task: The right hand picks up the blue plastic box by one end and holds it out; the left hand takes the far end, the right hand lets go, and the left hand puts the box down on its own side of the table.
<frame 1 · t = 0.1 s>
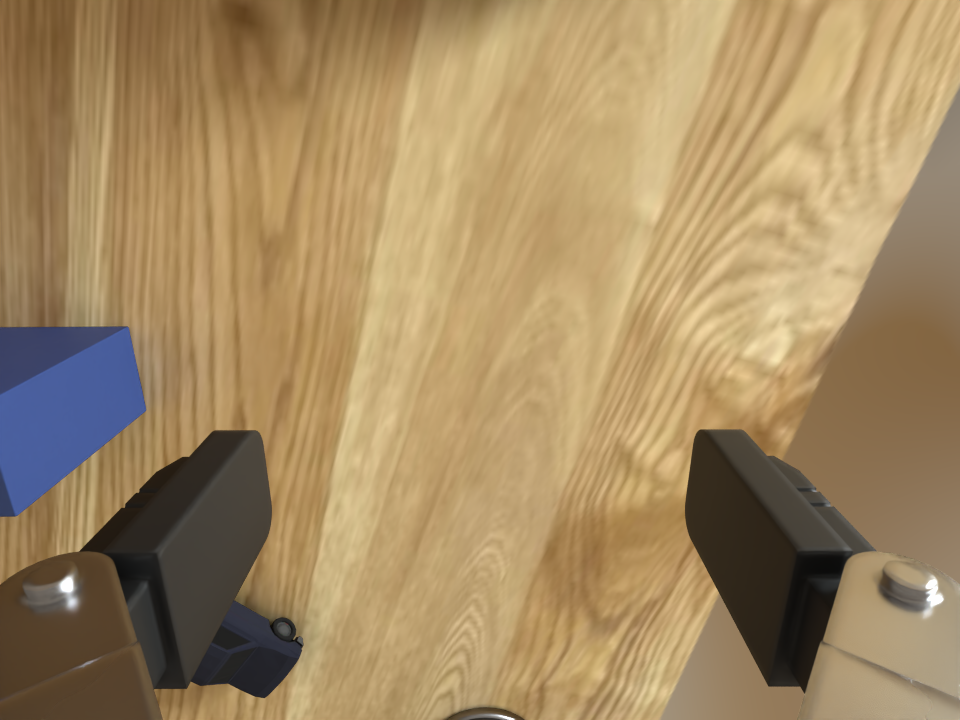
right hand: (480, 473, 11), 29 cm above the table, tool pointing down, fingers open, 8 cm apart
toy car: (216, 607, 49), on the table
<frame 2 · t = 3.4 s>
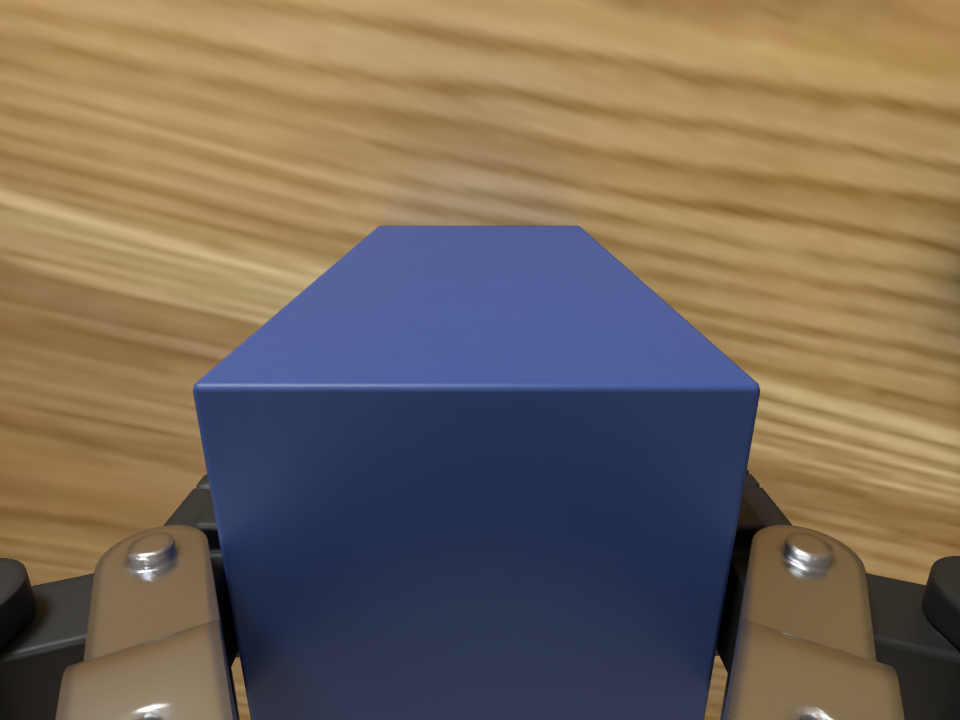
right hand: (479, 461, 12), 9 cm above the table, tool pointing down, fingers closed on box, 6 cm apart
box: (479, 585, 23), on the table, touching right hand
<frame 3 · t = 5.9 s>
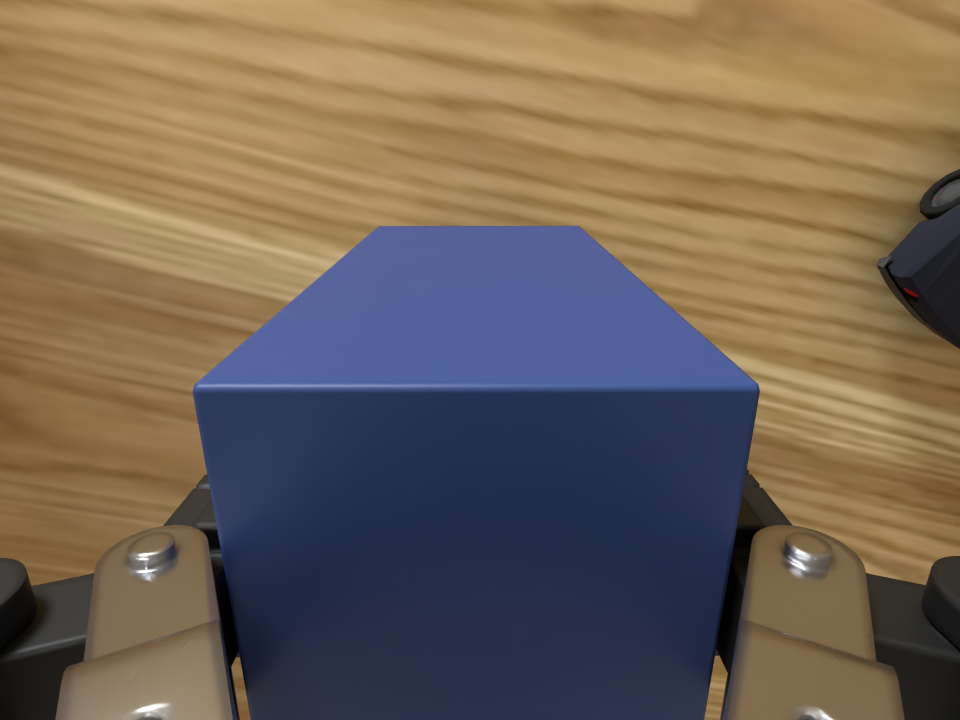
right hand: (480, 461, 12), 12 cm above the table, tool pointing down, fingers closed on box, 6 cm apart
box: (479, 585, 23), point 4 cm above the table, touching right hand
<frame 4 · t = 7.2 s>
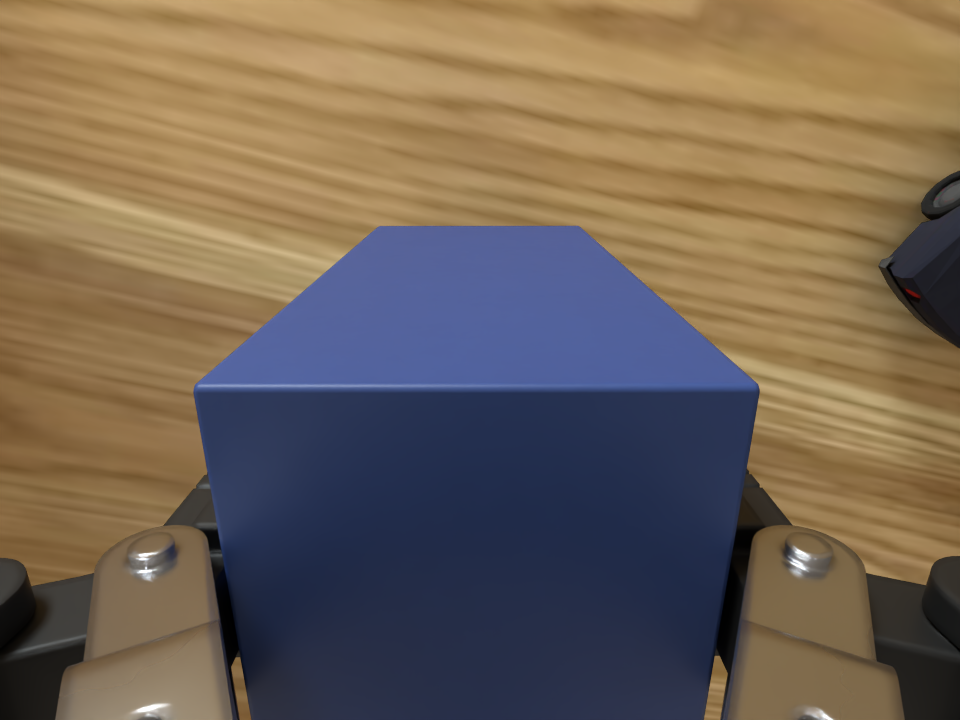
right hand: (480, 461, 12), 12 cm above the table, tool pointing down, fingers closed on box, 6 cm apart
box: (479, 585, 23), point 4 cm above the table, touching right hand, left hand
when the right hand's fingers open (12 cm above the table, at t = 8.5 s): box moves 2 cm, held by the left hand.
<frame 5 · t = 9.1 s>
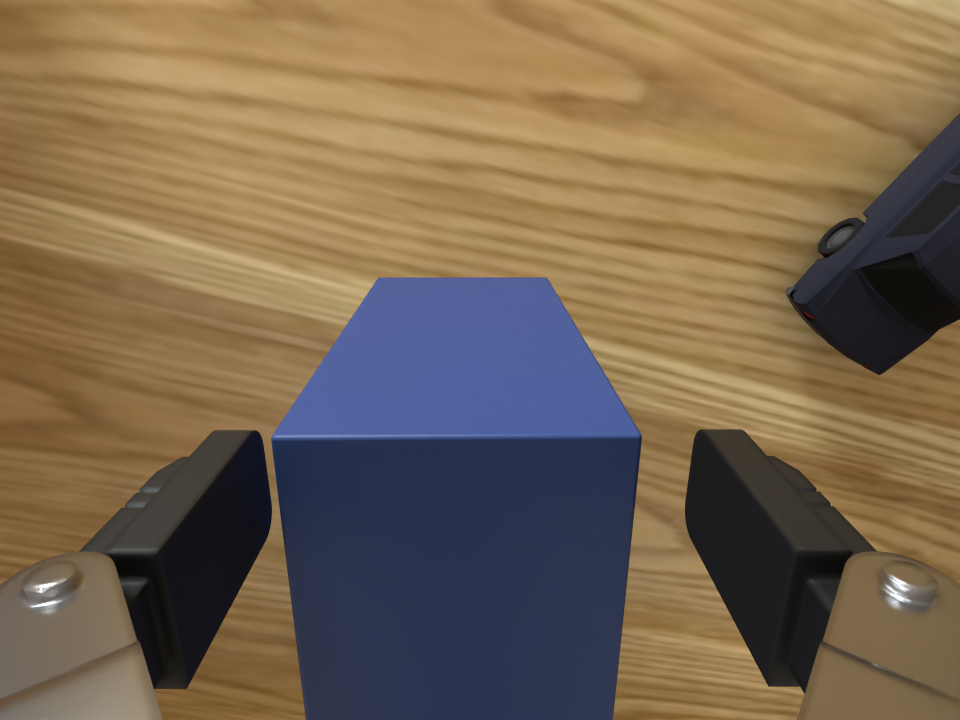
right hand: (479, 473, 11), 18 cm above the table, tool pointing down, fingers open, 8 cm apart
toy car: (922, 207, 28), on the table
box: (464, 582, 27), point 6 cm above the table, touching left hand
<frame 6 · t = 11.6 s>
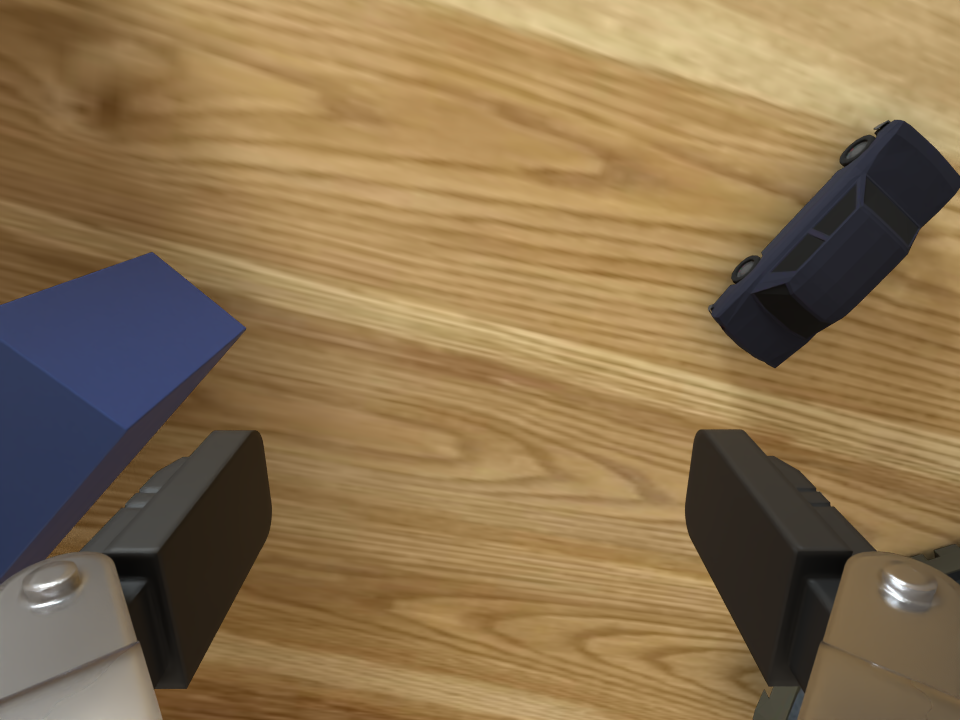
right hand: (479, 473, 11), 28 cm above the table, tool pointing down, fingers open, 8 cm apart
toy car: (808, 246, 38), on the table
box: (66, 451, 36), point 6 cm above the table, touching left hand
when the left hand's fingers open (10 cm above the table, at t = 15.9 s): box moves 1 cm, on the table.
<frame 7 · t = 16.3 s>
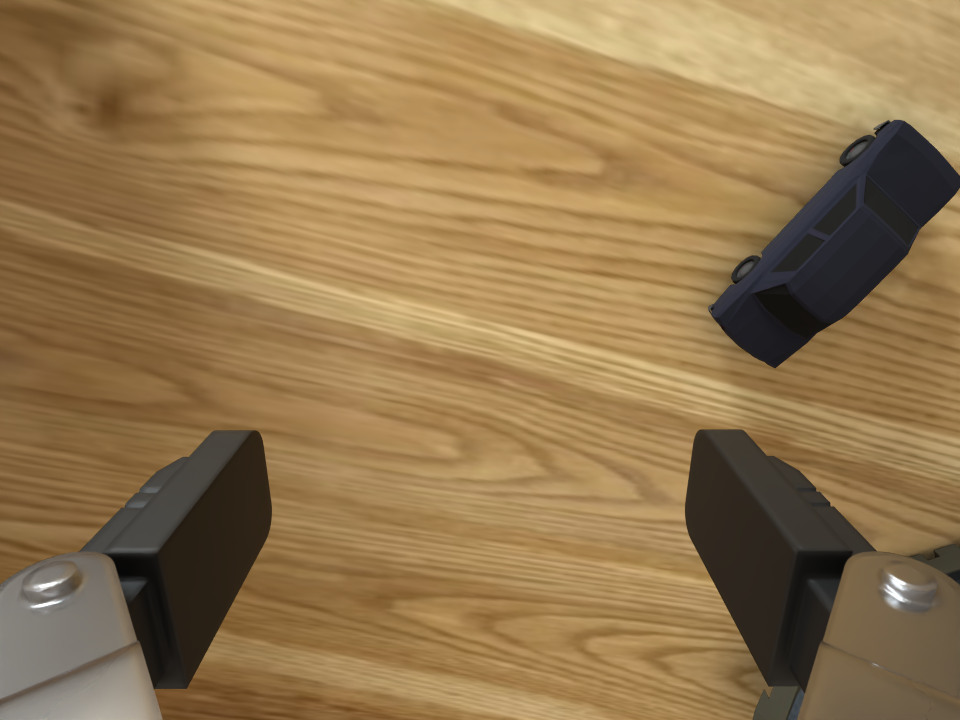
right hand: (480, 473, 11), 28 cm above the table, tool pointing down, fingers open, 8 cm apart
toy car: (808, 246, 38), on the table
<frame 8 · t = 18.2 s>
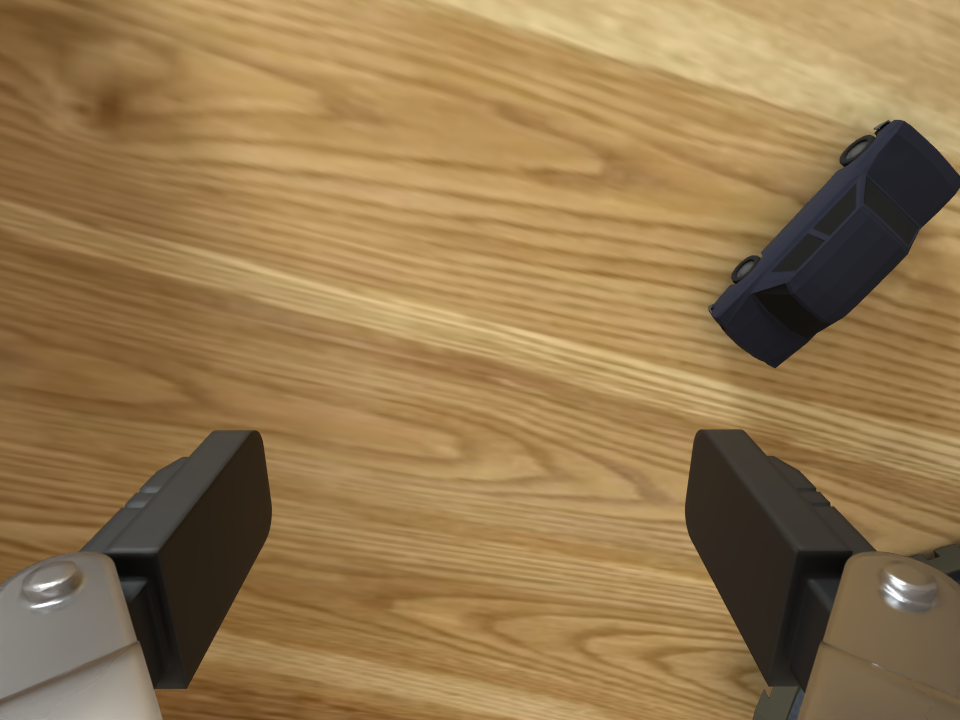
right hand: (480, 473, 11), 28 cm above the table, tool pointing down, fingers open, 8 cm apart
toy car: (808, 246, 38), on the table
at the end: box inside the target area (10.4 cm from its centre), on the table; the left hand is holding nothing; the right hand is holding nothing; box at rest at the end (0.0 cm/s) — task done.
